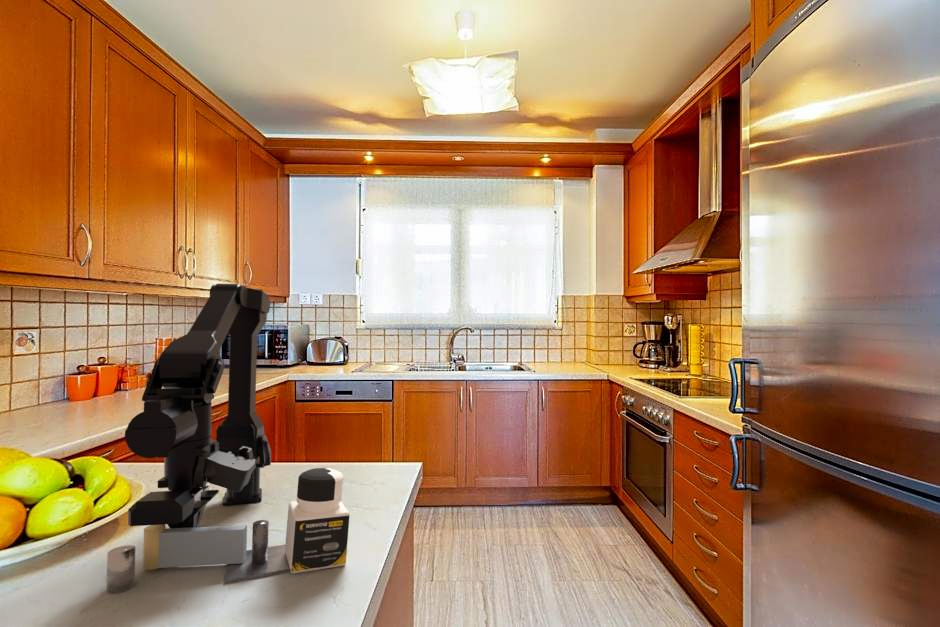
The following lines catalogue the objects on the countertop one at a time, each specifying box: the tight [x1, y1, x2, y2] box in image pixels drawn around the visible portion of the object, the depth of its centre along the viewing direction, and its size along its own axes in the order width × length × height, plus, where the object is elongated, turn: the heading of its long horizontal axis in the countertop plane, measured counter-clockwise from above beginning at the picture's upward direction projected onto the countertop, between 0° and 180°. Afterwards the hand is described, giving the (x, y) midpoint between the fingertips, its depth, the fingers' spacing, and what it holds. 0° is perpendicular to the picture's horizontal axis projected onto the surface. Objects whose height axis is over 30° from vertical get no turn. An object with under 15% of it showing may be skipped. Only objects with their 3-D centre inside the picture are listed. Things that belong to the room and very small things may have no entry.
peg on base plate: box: [224, 519, 291, 584], centre depth 66 cm, size 8×8×6 cm
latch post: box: [105, 544, 136, 594], centre depth 59 cm, size 3×3×4 cm
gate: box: [142, 524, 248, 571], centre depth 65 cm, size 13×2×5 cm, turn 98°
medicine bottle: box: [284, 467, 350, 574], centre depth 67 cm, size 7×7×12 cm
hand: (188, 549), depth 67 cm, fingers closed
